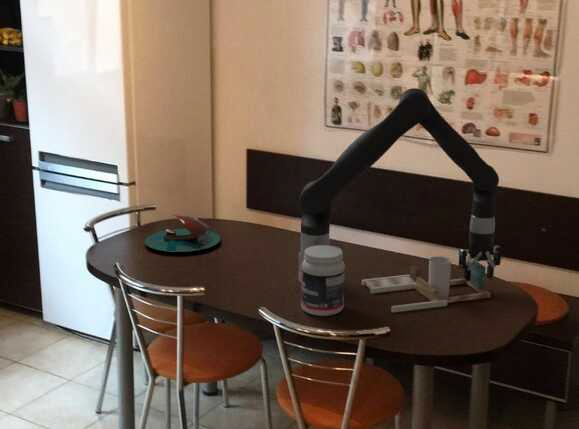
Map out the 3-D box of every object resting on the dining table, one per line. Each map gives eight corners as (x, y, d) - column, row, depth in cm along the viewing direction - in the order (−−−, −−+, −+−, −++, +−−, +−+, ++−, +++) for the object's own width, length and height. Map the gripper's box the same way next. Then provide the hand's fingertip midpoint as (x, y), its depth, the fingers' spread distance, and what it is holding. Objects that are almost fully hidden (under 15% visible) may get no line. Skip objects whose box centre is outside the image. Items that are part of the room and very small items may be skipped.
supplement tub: (292, 307, 242) (292, 249, 237) (325, 297, 250) (326, 241, 244) (319, 321, 232) (320, 261, 227) (353, 310, 240) (354, 252, 235)
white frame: (434, 304, 244) (436, 278, 242) (414, 288, 257) (415, 263, 254) (491, 297, 250) (493, 271, 247) (468, 281, 262) (470, 257, 260)
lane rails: (392, 312, 239) (392, 307, 238) (361, 284, 261) (362, 279, 260) (447, 305, 244) (447, 300, 243) (412, 278, 266) (412, 274, 265)
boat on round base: (216, 256, 287) (215, 226, 284) (138, 255, 287) (136, 226, 284) (223, 232, 314) (223, 205, 311) (152, 232, 314) (150, 204, 311)
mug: (442, 302, 246) (444, 265, 243) (423, 296, 251) (425, 260, 247) (458, 292, 254) (460, 256, 250) (439, 287, 258) (441, 252, 255)
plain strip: (371, 290, 254) (372, 275, 253) (365, 284, 259) (365, 269, 258) (420, 285, 259) (421, 269, 258) (413, 279, 264) (413, 264, 263)
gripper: (467, 234, 245) (464, 285, 249) (508, 230, 249) (504, 280, 253) (455, 227, 252) (452, 277, 256) (496, 224, 256) (492, 273, 260)
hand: (478, 279), depth 255 cm, fingers open, 7 cm apart
